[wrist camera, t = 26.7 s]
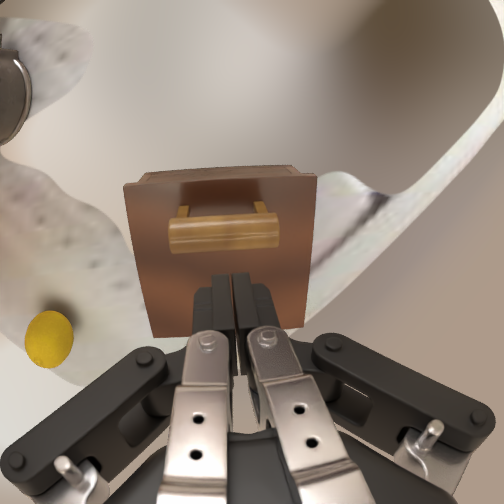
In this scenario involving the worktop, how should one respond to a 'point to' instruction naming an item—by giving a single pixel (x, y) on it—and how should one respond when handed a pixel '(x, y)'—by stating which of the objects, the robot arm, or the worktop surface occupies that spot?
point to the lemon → (49, 339)
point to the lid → (221, 241)
